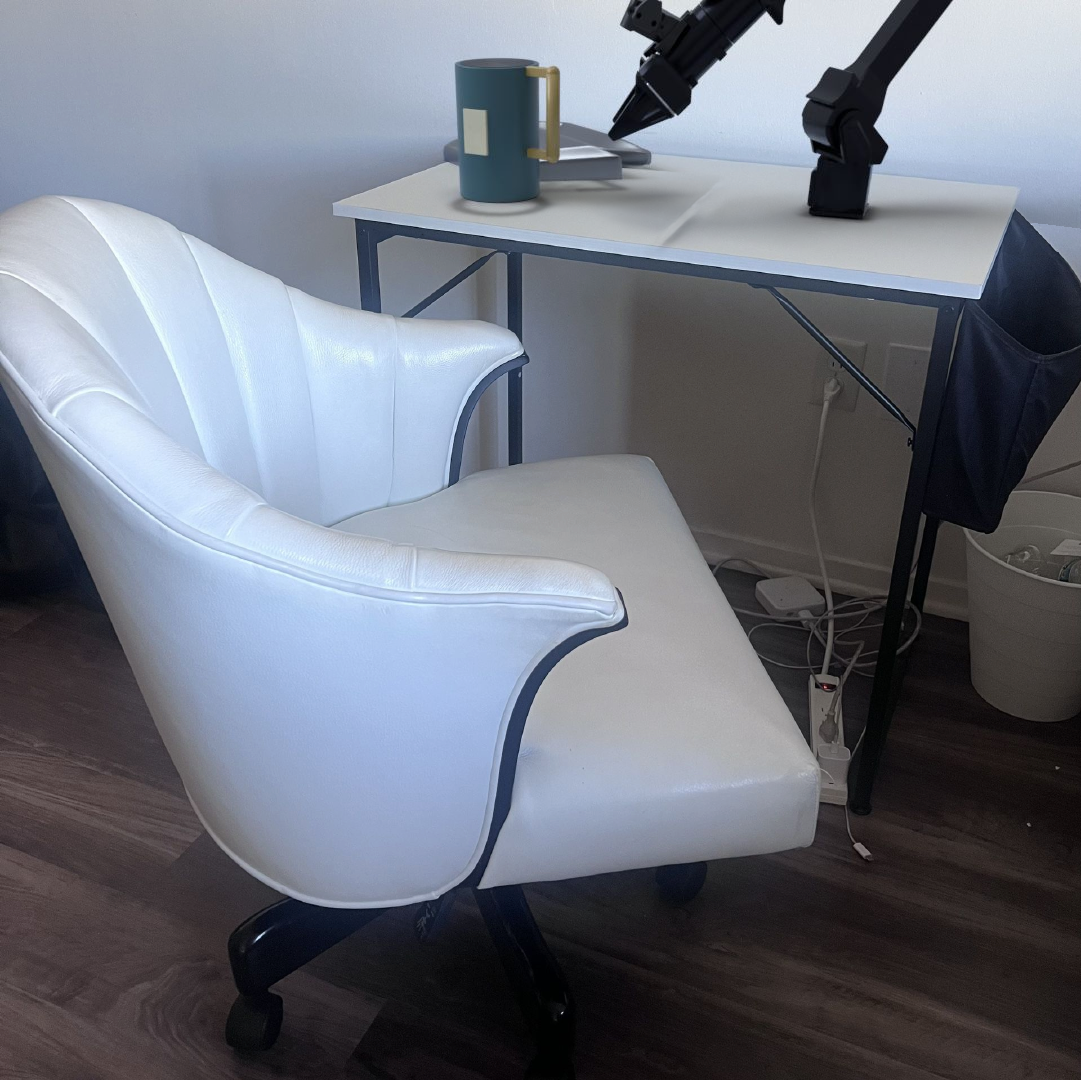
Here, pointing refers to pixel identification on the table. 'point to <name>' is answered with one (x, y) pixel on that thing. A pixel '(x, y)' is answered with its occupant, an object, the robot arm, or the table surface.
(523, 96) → the teal coffee mug
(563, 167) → the emblem
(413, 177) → the table surface
